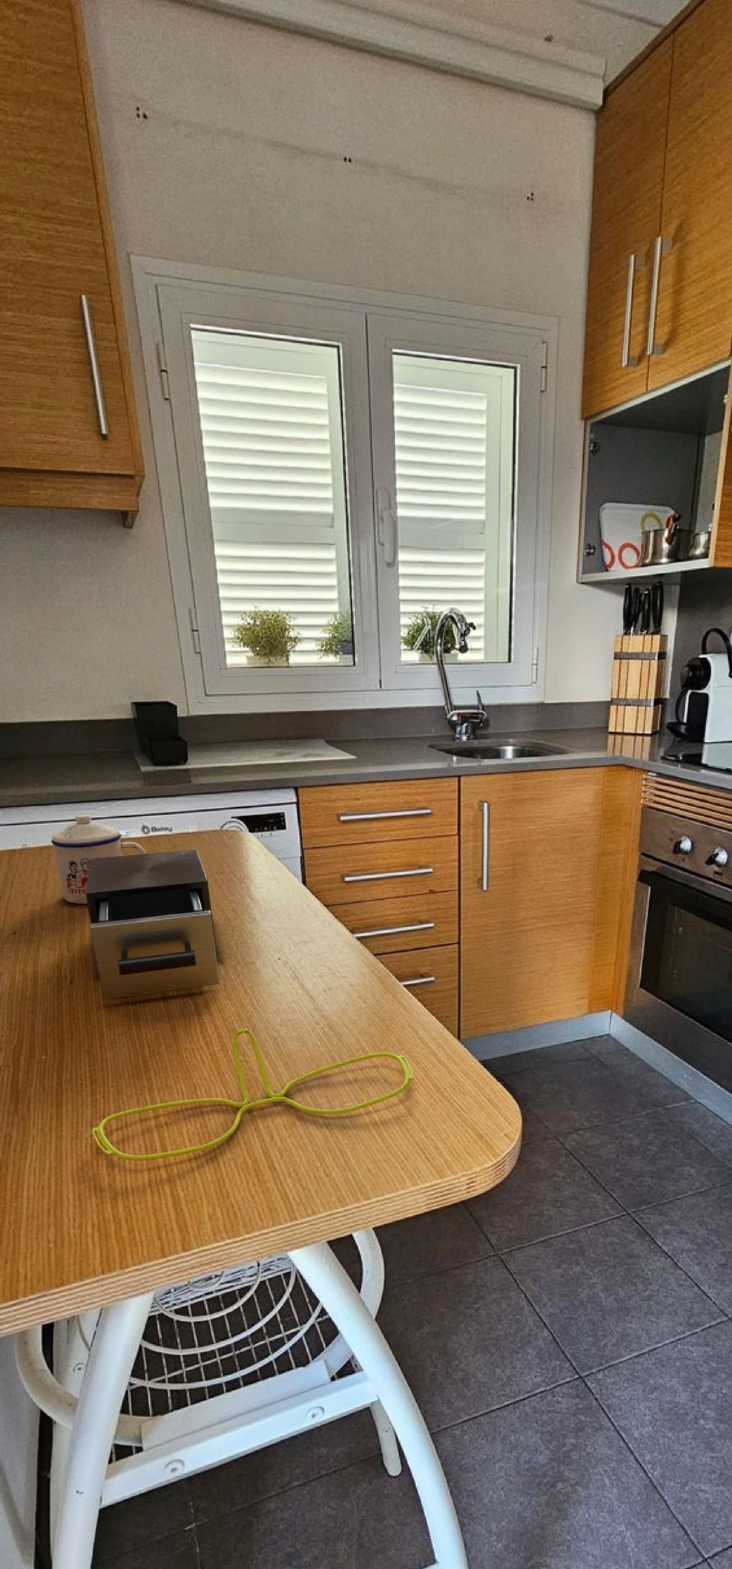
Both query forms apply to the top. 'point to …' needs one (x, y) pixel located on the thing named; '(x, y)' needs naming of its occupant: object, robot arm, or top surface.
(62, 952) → the top surface
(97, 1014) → the top surface
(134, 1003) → the top surface
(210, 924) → the silver drawer with handle
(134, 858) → the metal drawer cabinet
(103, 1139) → the glasses
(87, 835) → the teacup with lid
